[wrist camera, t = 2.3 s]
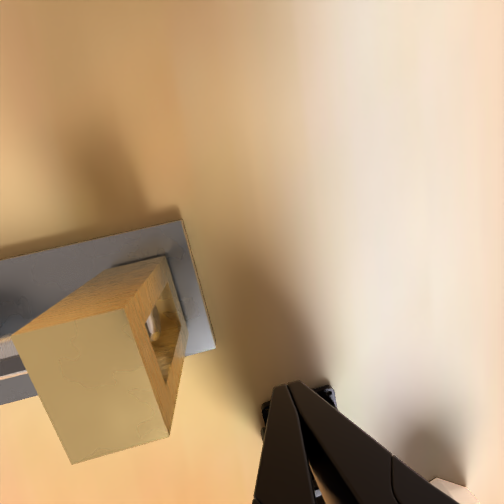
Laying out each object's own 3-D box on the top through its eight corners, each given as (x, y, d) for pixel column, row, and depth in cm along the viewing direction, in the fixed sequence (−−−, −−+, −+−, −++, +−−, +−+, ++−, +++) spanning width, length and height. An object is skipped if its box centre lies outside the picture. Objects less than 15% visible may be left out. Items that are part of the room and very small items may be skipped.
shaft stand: (182, 219, 19) (166, 232, 13) (215, 341, 22) (215, 403, 15) (-88, 279, 18) (-255, 327, 12) (-20, 402, 20) (-128, 498, 14)
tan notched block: (165, 255, 18) (123, 308, 10) (188, 333, 20) (169, 436, 11) (105, 269, 18) (10, 336, 10) (133, 348, 19) (71, 464, 11)
